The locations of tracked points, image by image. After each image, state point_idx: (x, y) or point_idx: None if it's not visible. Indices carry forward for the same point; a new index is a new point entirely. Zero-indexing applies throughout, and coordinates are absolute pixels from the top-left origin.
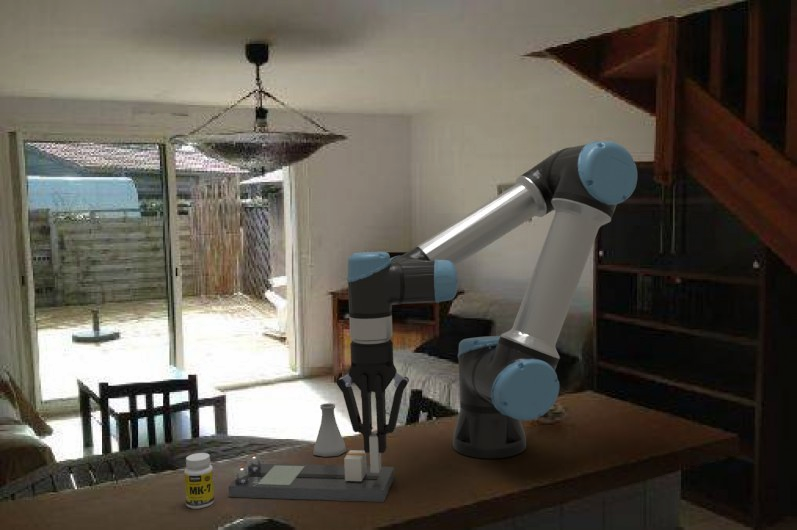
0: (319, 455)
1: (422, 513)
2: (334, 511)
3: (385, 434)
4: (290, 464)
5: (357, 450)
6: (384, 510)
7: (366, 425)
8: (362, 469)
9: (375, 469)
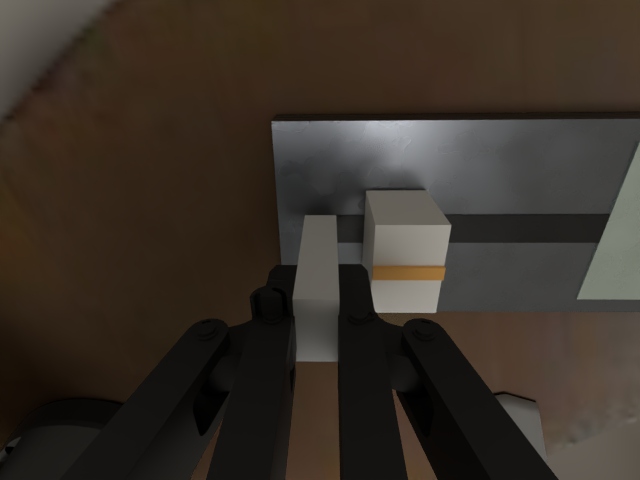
0: (520, 398)
1: (117, 30)
2: (437, 15)
3: (250, 320)
4: (624, 311)
5: (404, 312)
6: (256, 44)
7: (357, 349)
8: (368, 224)
9: (316, 220)
